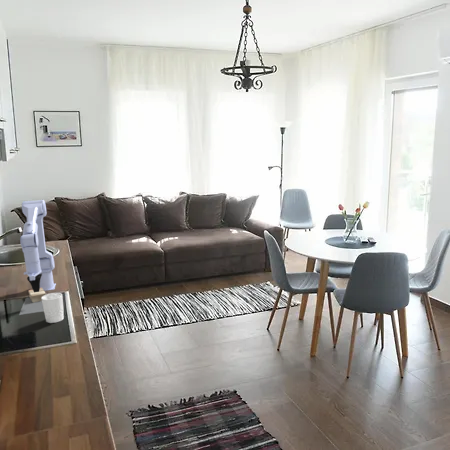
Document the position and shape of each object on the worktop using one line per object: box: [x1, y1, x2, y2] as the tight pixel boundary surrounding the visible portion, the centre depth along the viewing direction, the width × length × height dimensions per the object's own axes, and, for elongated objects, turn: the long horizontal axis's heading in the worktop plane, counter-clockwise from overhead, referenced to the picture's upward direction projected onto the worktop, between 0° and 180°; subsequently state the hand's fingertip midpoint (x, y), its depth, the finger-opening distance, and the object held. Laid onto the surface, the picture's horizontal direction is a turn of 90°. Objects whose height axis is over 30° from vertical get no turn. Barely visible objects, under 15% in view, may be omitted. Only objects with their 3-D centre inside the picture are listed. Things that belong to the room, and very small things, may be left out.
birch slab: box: [28, 288, 47, 302], centre depth 212 cm, size 3×6×10 cm
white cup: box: [41, 292, 65, 324], centre depth 185 cm, size 8×8×10 cm
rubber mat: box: [18, 297, 44, 316], centre depth 205 cm, size 22×14×1 cm, turn 16°
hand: (36, 291), depth 201 cm, fingers closed
